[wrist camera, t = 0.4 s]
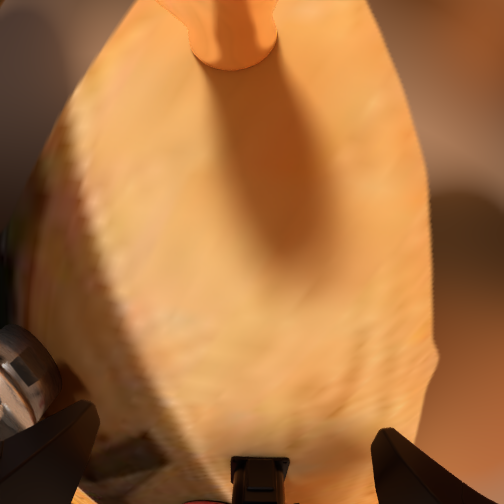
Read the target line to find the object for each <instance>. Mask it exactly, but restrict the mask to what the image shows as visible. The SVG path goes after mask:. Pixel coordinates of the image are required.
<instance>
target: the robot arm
mask: <svg viewBox="0 0 504 504" xmlns="http://www.w3.org/2000/svg"><path fill="white" fill-rule="evenodd" d="M99 426H100V418H99V415H98V412H97V409H96V406H95V404H94V403H93V402H91V401H88V400H80V401H78V402H76V403H74V404H73V405H71V406H69V407H67V408H65V409H63V410H61V411H60V412H58V413H56V414H54V415H52V416H50V417H48V418H46V419H44V420H42V421H41V422H39V423H37V424H35V425H33V426H31V427H29V428H27V429H25V430H23V431H21V432H19V433H17V434H15V435H13V436H11V437H9V438H7V439H5V440H4V441H0V504H71V501H72V499H73V496H74V494H75V491H76V489H77V487H78V484H79V482H80V480H81V477H82V475H83V473H84V470H85V468H86V466H87V463H88V461H89V458H90V455H91V452H92V448H93V445H94V442H95V438H96V435H97V432H98V429H99ZM371 456H372V464H373V472H374V481H375V488H376V493H377V497H378V501H379V504H497V503H495V502H494V501H492V500H490V499H488V498H486V497H484V496H483V495H481V494H480V493H478V492H477V491H475V490H474V489H472V488H471V487H469V486H468V485H466V484H465V483H462V481H461V480H459V479H458V478H457V477H455V476H454V475H452V474H451V473H450V472H449V471H447V470H446V469H445V468H443V467H442V466H441V465H439V464H438V463H437V462H436V461H434V460H433V459H431V458H430V457H429V456H428V455H426V454H425V453H424V452H423V451H421V450H420V449H419V448H417V447H416V446H415V445H414V444H412V443H411V442H410V441H409V440H407V439H406V438H405V437H404V436H402V435H401V434H400V433H399V432H398V431H396V430H395V429H394V428H391V427H389V428H382V429H380V430H379V431H378V433H377V435H376V437H375V439H374V440H373V442H372V444H371ZM289 463H290V461H289V458H255V457H231V483H232V484H233V494H232V504H285V493H284V481H285V477H286V474H287V470H288V467H289ZM294 504H299V503H294Z"/></svg>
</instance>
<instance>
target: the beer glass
mask: <svg viewBox="0 0 504 504" xmlns="http://www.w3.org/2000/svg"><path fill="white" fill-rule="evenodd" d="M155 1H156V2H157V3H158V4H159V5H161V6H162V7H163V8H164V9H166V10H167V11H168V12H169V13H170V14H171V15H173V16H174V17H175V18H176V19H178V20H179V21H180V22H181V23H182V24H183V25H184V26H186V28H187V29H188V37H189V44H190V47H191V49H192V51H193V53H194V54H195V56H196V57H197V58H198V59H199V60H200V61H202V62H203V63H204V64H206V65H208V66H210V67H213V68H216V69H220V70H240V69H245V68H248V67H251V66H253V65H255V64H257V63H259V62H260V61H262V60H263V59H264V58H265V57H267V56H268V54H269V53H270V52H271V51H272V49H273V47H274V45H275V43H276V38H277V29H276V24H275V21H274V18H273V11H274V9H275V7H276V5H277V3H278V1H279V0H155Z"/></svg>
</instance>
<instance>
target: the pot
mask: <svg viewBox="0 0 504 504" xmlns="http://www.w3.org/2000/svg"><path fill="white" fill-rule="evenodd" d="M0 367H1V368H2V369H3V370H4V371H5V372H6V373H7V374H8V375H9V377H10V378H11V379H12V380H13V381H14V383H15V384H16V385H17V386H18V388H19V389H20V391H21V392H22V393H23V395H24V396H25V398H26V399H27V401H28V402H29V404H30V406H31V408H32V410H33V412H34V414H35V417H36V420H37V422H38V420H39V419H40V418H41V416H42V415H43V414H44V412H45V411H46V410H47V408H48V407H49V406H50V404H51V403H52V402H53V400H54V399H55V398H56V396H57V395H58V394H59V392H60V391H61V388H62V381H61V376H60V373H59V370H58V368H57V366H56V364H55V362H54V360H53V359H52V357H51V356H50V354H49V353H48V351H47V350H46V349H45V347H44V346H43V345H42V344H41V343H40V342H39V341H38V340H37V339H36V338H35V337H34V336H33V335H32V334H31V333H30V332H28V331H27V330H25V329H24V328H22V327H20V326H18V325H14V324H9V325H7V326H5V327H4V328H2V329H1V330H0Z"/></svg>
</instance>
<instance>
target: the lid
mask: <svg viewBox="0 0 504 504" xmlns="http://www.w3.org/2000/svg"><path fill="white" fill-rule="evenodd" d="M35 424H37V420H36V417H35V414H34V412H33V410H32V408H31V406H30V404H29V402H28V401H27V399H26V398H25V396H24V395H23V393H22V392H21V391H20V389H19V388H18V386H17V385H16V384H15V383H14V381H13V380H12V379H11V378H10V377H9V375H8V374H7V373H6V372H5V371H4V370H3V369H2V368H1V367H0V441H4V440H5V439H7V438H9V437H11V436H13V435H15V434H17V433H19V432H21V431H23V430H25V429H27V428H29V427H31V426H33V425H35Z"/></svg>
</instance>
